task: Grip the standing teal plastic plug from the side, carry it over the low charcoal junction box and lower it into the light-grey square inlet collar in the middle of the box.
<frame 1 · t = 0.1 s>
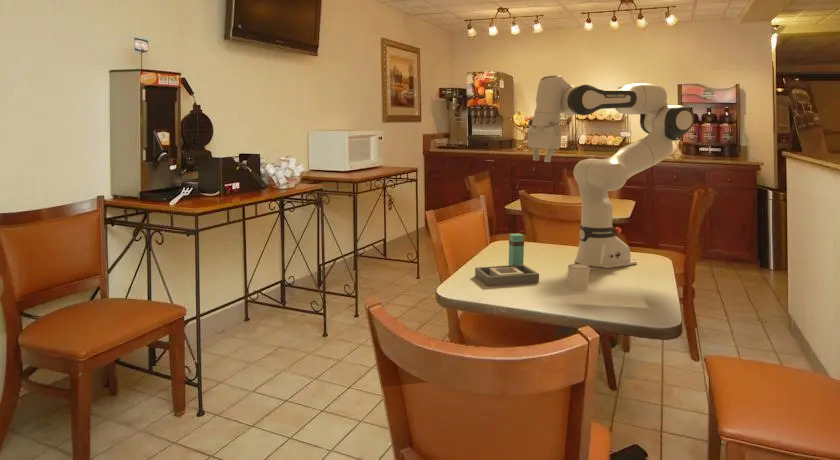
hand: (541, 161, 201), 39 cm above the table, tool pointing down, fingers open, 8 cm apart
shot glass: (578, 287, 182), on the table
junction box: (506, 279, 192), on the table
plug: (515, 269, 204), on the table
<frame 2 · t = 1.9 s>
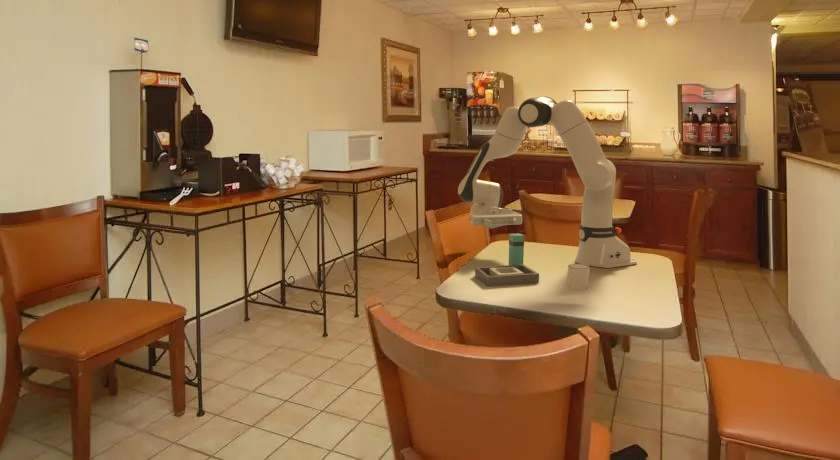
hand: (503, 223, 213), 15 cm above the table, tool horizontal, fingers open, 8 cm apart
nothing on the table moved.
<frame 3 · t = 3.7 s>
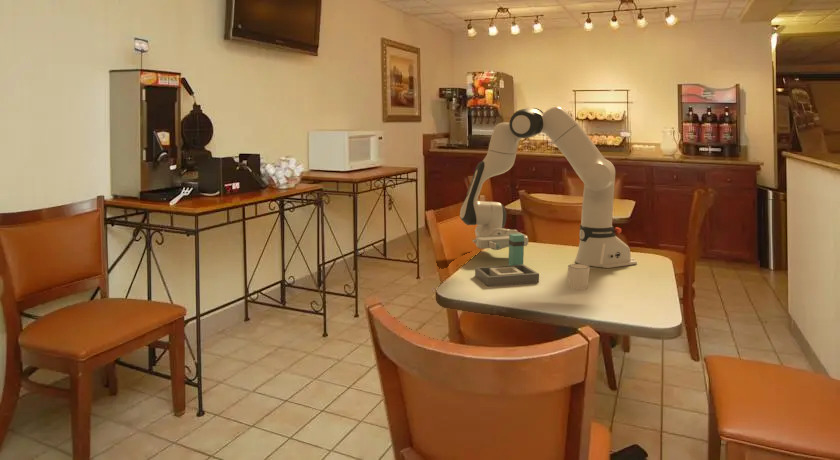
hand: (508, 245, 210), 7 cm above the table, tool horizontal, fingers open, 8 cm apart
nothing on the table moved.
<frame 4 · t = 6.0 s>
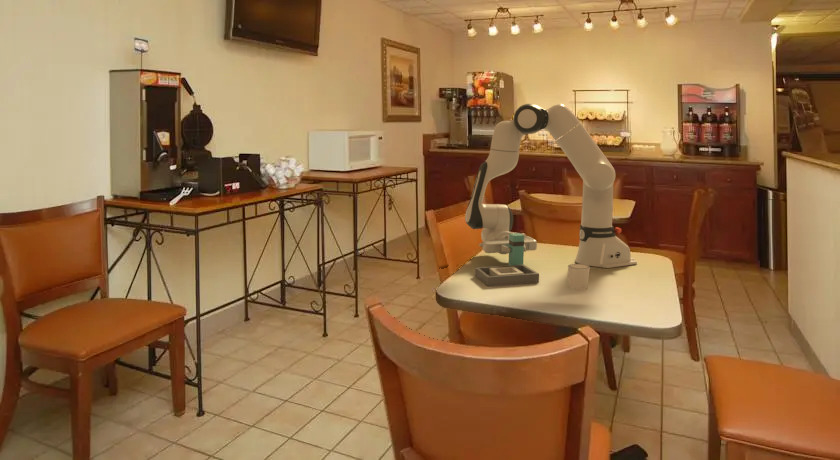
hand: (517, 249, 202), 8 cm above the table, tool horizontal, fingers closed on plug, 4 cm apart
plug: (515, 269, 204), on the table, touching gripper
everything else where it was.
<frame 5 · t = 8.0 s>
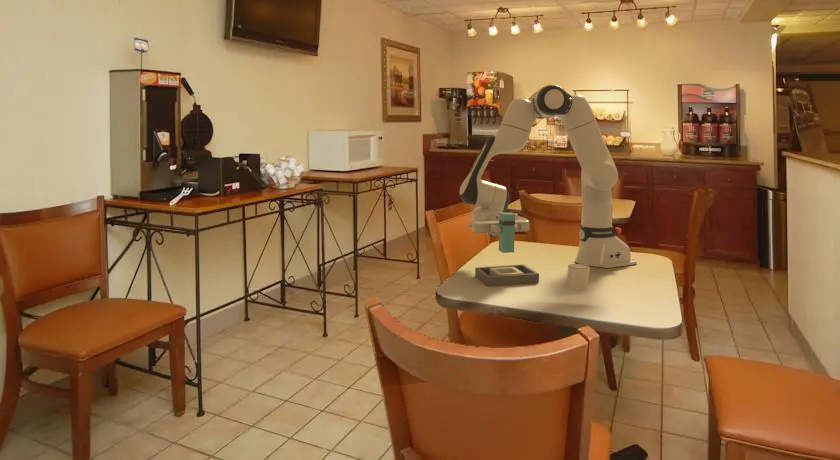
hand: (507, 229, 188), 17 cm above the table, tool horizontal, fingers closed on plug, 4 cm apart
plug: (506, 251, 191), point 10 cm above the table, touching gripper
everything else where it was.
when the fingers open (9 cm above the table, at t = 10.3 s): plug stays where it is, resting on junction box.
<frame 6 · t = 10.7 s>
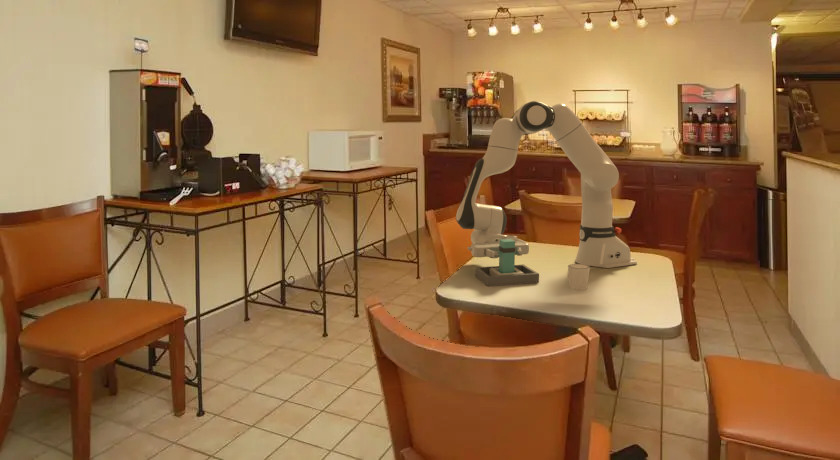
hand: (507, 254, 189), 9 cm above the table, tool horizontal, fingers open, 8 cm apart
plug: (506, 277, 192), resting on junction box
everything else where it was.
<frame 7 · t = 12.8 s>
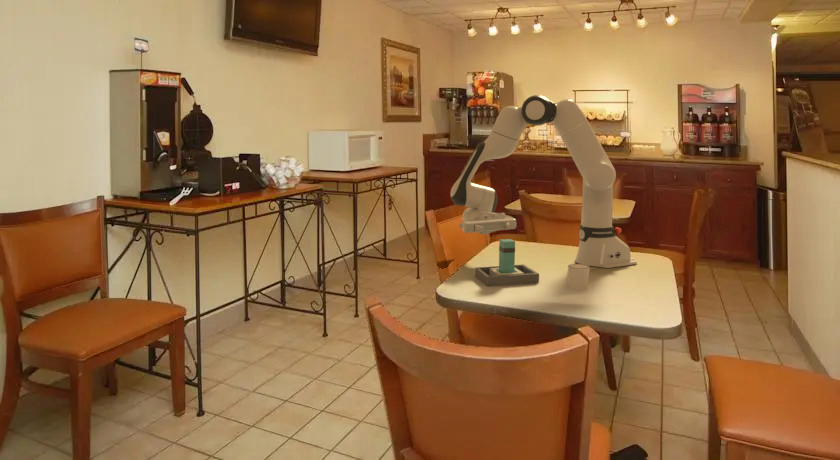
hand: (495, 228, 201), 15 cm above the table, tool horizontal, fingers open, 8 cm apart
nothing on the table moved.
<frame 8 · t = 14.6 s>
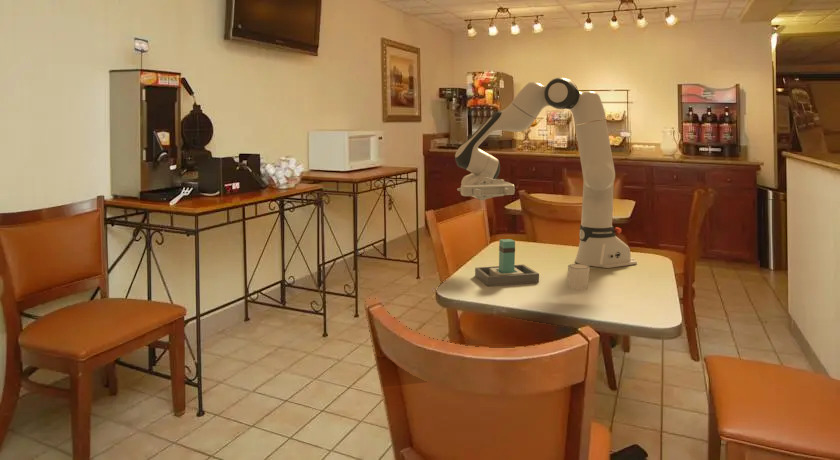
hand: (494, 192, 202), 28 cm above the table, tool horizontal, fingers open, 8 cm apart
nothing on the table moved.
at the end: plug 0.1 cm off-centre on the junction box, point 0.5 cm above the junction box's base; plug tilted 0°; the gripper is holding nothing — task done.
